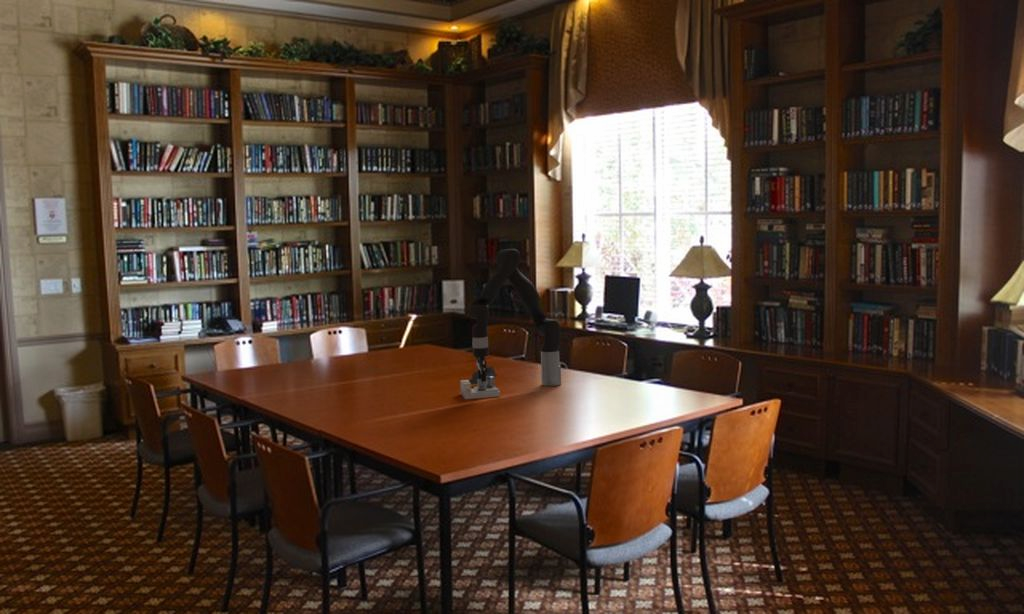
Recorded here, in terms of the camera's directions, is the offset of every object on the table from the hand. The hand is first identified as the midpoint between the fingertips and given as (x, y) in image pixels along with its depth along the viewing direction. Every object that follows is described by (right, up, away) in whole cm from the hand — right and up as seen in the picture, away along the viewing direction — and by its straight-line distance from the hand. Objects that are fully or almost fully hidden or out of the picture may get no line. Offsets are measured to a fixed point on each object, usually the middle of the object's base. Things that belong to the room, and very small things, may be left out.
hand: (482, 379), depth 431 cm
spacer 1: (0, -5, 0) cm, 5 cm away
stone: (0, -6, +28) cm, 28 cm away
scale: (-1, -8, +4) cm, 9 cm away
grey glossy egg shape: (+4, -4, +7) cm, 9 cm away
